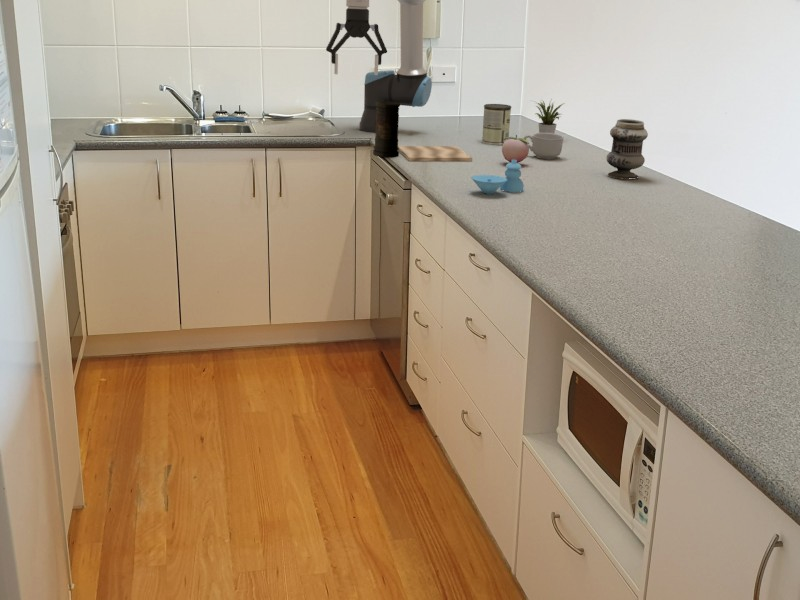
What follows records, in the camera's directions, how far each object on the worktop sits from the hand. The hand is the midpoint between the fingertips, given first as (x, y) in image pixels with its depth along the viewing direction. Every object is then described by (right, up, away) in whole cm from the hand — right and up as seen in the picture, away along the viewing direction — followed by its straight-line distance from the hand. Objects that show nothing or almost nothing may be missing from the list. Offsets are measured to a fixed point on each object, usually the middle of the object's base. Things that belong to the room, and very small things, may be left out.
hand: (356, 74), depth 305 cm
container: (+10, -26, +10) cm, 29 cm away
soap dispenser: (+43, -44, -39) cm, 73 cm away
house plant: (+71, -12, +55) cm, 91 cm away
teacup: (+65, -25, +18) cm, 72 cm away
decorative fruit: (+53, -30, +3) cm, 61 cm away
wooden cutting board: (+27, -25, +13) cm, 39 cm away
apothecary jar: (+87, -36, -10) cm, 95 cm away
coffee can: (+51, -16, +43) cm, 69 cm away
